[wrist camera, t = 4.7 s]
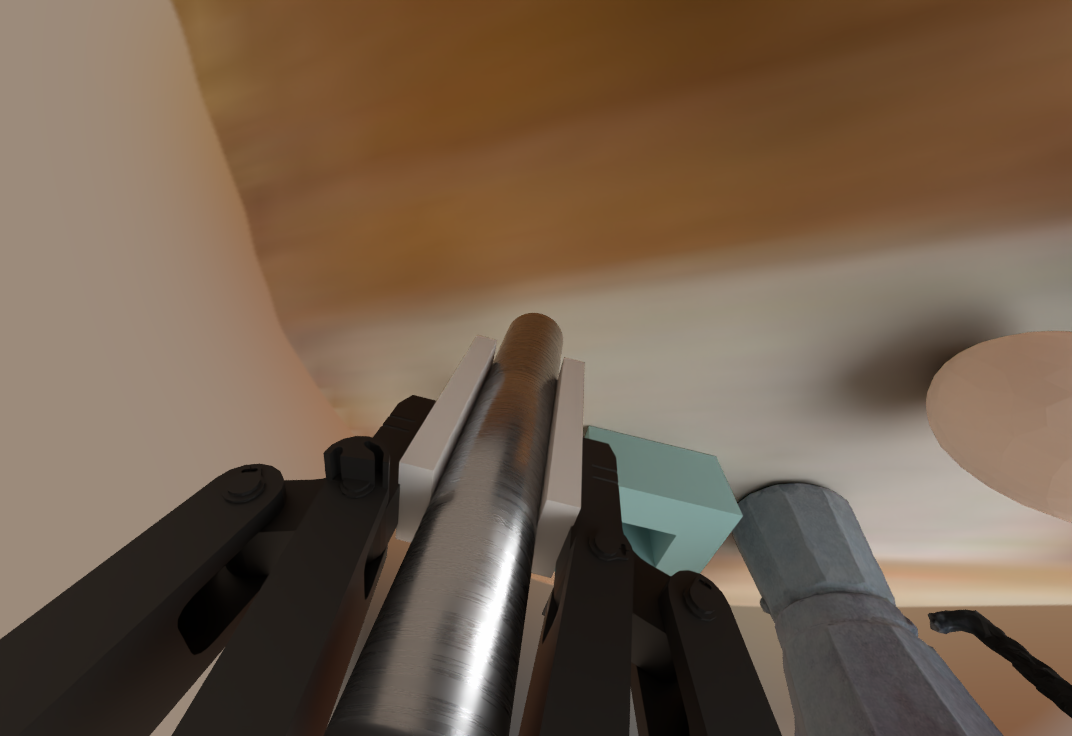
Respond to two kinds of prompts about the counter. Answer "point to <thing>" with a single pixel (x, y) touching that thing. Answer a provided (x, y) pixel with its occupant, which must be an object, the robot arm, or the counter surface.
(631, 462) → the teal square nut
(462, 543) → the pin long
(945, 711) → the moka pot
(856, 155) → the counter surface
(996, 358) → the egg
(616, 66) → the counter surface
